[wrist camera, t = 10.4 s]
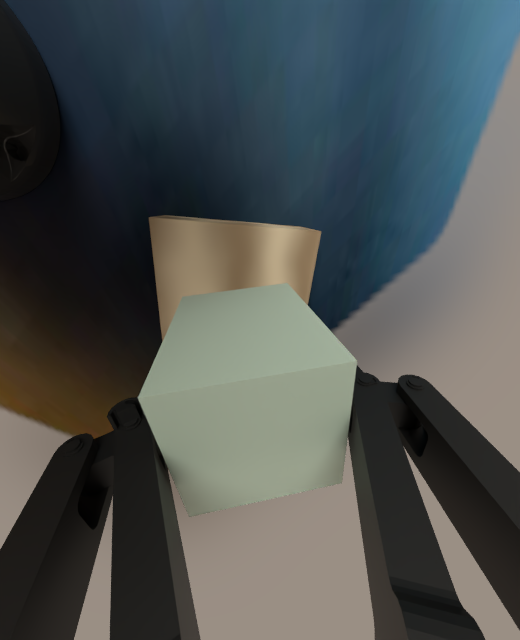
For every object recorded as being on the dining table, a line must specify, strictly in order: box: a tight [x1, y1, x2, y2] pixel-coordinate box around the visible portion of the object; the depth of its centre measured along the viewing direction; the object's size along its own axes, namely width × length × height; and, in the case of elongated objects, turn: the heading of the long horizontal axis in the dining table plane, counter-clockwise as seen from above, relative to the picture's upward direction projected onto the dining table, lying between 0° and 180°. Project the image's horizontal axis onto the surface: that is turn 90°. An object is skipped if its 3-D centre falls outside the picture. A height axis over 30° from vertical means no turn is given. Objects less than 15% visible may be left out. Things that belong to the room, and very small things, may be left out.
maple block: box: [149, 215, 321, 342], centre depth 24 cm, size 14×14×6 cm
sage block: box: [138, 283, 357, 517], centre depth 13 cm, size 7×7×9 cm
